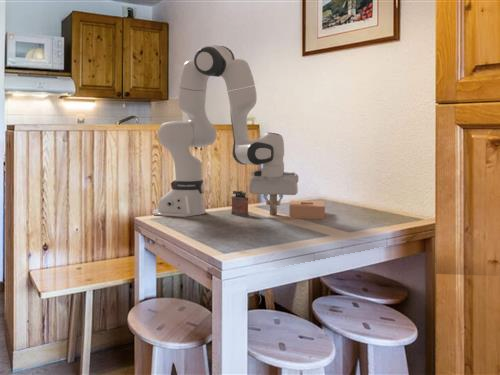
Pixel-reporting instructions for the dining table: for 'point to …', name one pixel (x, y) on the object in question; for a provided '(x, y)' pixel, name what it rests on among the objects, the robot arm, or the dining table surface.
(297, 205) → the block
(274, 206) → the key peg
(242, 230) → the dining table surface
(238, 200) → the lighter
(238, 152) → the robot arm
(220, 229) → the dining table surface
